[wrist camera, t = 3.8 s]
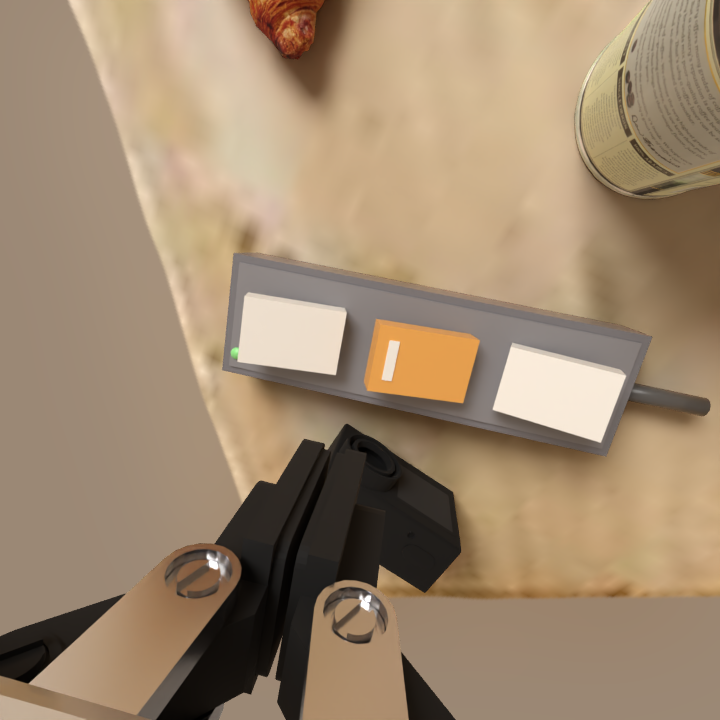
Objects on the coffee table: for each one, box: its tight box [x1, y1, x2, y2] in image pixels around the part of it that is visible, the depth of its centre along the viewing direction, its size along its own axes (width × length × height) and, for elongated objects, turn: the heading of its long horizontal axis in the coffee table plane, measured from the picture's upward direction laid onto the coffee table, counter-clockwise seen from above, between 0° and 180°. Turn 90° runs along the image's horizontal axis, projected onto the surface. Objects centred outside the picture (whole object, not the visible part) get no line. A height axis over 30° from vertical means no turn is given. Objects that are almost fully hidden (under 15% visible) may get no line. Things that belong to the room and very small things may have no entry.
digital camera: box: [326, 424, 461, 593], centre depth 30 cm, size 10×5×7 cm, turn 58°
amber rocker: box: [364, 319, 480, 403], centre depth 25 cm, size 6×4×2 cm, turn 79°
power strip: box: [222, 253, 710, 456], centre depth 28 cm, size 32×8×4 cm, turn 80°
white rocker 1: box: [237, 292, 347, 375], centre depth 26 cm, size 6×4×2 cm, turn 79°
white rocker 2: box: [493, 343, 626, 443], centre depth 25 cm, size 6×4×2 cm, turn 81°
